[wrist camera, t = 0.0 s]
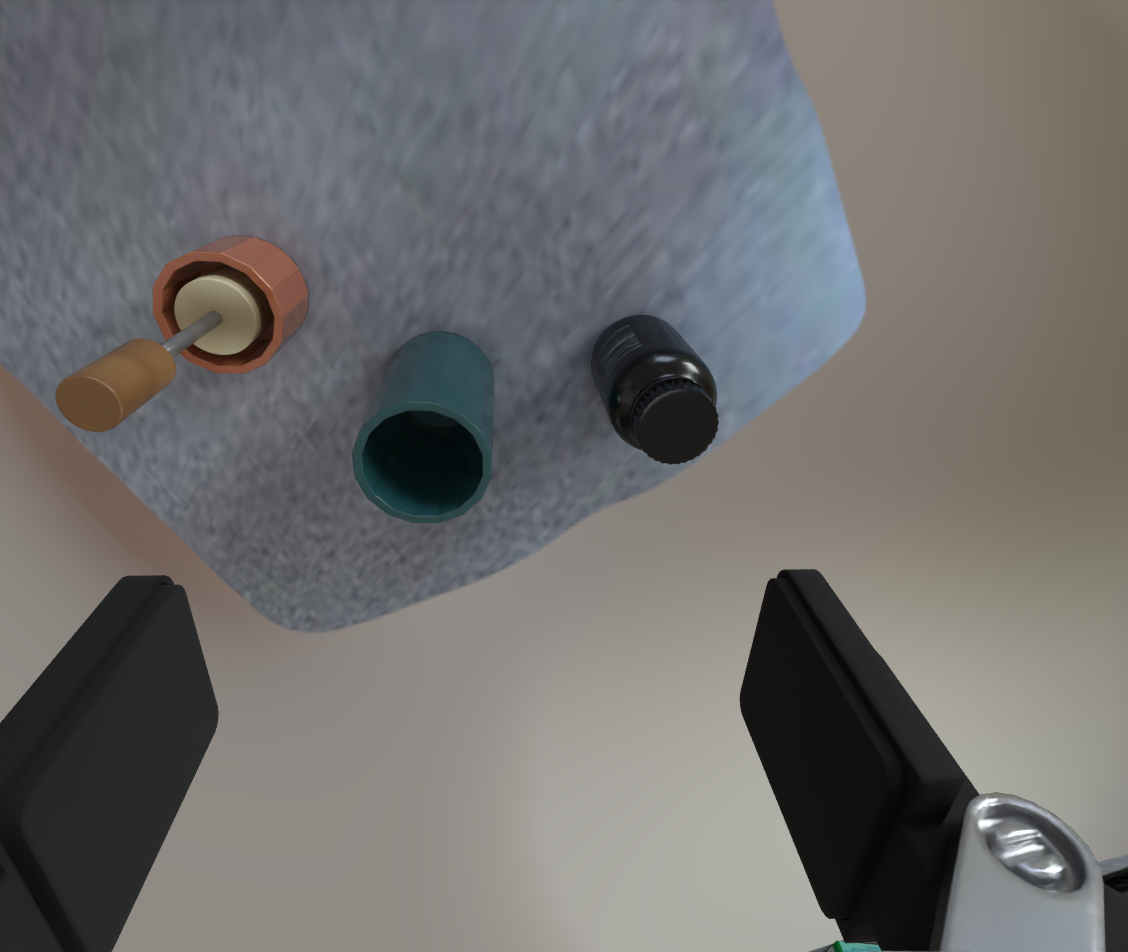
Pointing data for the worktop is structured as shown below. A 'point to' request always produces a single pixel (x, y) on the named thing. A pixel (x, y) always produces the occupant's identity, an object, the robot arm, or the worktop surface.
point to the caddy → (271, 277)
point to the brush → (167, 349)
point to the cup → (429, 431)
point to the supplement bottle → (655, 389)
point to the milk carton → (853, 947)
